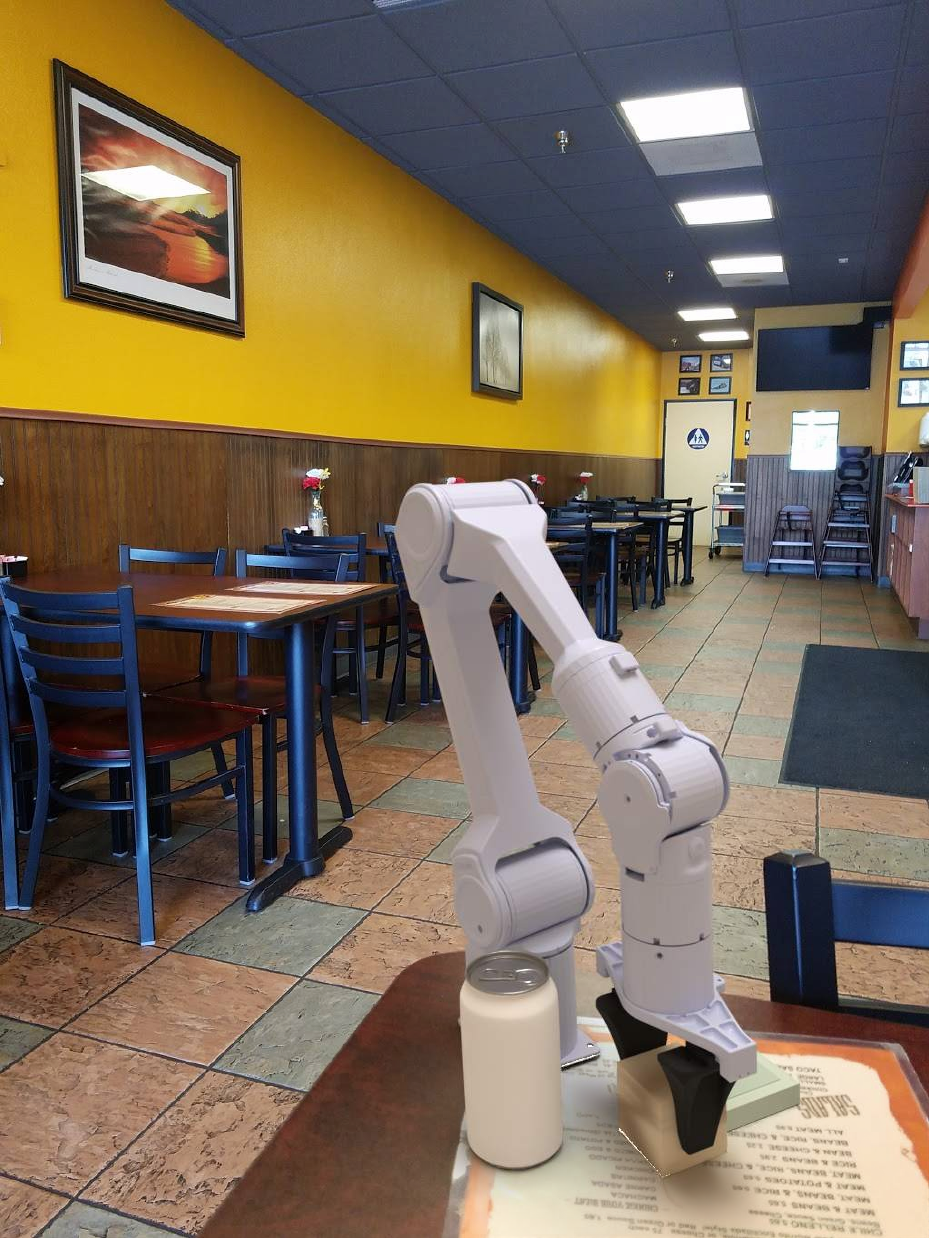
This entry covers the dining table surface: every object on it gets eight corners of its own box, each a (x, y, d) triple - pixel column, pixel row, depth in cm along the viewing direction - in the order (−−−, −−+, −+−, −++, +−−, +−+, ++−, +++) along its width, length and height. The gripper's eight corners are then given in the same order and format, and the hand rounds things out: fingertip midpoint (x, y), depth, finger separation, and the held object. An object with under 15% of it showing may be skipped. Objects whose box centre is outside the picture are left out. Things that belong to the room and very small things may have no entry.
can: (558, 1178, 60) (551, 1000, 58) (458, 1168, 61) (448, 993, 60) (568, 1111, 66) (562, 949, 65) (477, 1104, 68) (468, 944, 66)
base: (656, 1077, 69) (655, 1058, 69) (732, 1050, 72) (732, 1031, 72) (718, 1135, 63) (717, 1113, 63) (800, 1103, 66) (799, 1082, 66)
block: (618, 1130, 64) (616, 1061, 63) (679, 1108, 66) (678, 1040, 65) (662, 1177, 60) (660, 1104, 59) (727, 1152, 62) (726, 1080, 61)
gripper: (797, 958, 56) (798, 1170, 58) (652, 873, 69) (656, 1047, 71) (699, 989, 53) (703, 1210, 55) (567, 894, 66) (574, 1075, 68)
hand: (671, 1121), depth 63 cm, fingers closed on block, 5 cm apart
